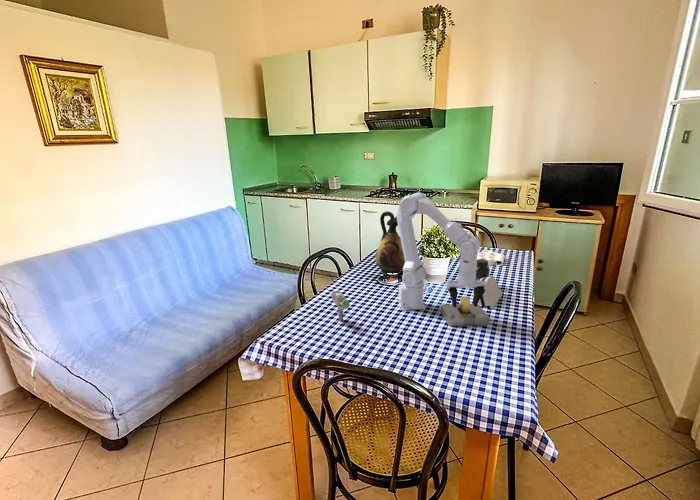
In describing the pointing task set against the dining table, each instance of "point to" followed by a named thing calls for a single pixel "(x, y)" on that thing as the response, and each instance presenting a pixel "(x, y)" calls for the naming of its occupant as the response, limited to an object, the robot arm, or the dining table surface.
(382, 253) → the ceramic jug
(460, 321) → the grey slotted plate
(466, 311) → the wood grain block
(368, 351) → the dining table surface
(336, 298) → the mechanical component
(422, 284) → the robot arm
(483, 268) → the supplement bottle
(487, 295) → the white angular device
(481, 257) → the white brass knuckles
